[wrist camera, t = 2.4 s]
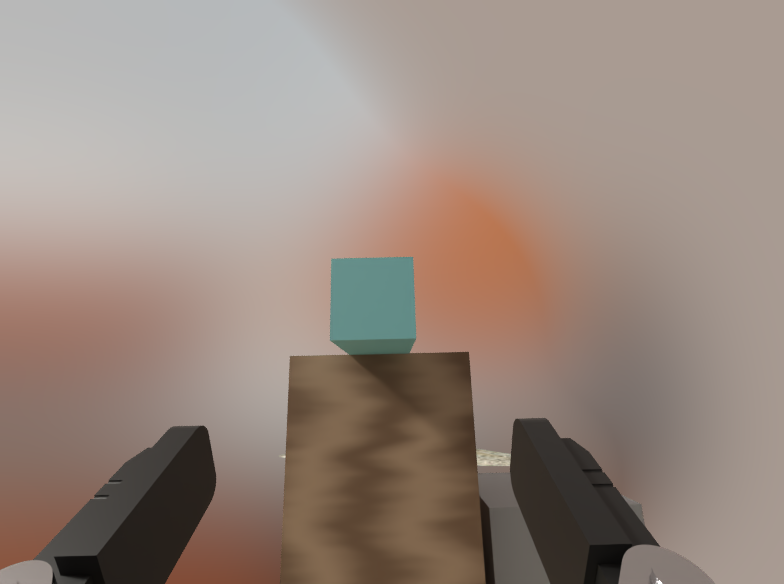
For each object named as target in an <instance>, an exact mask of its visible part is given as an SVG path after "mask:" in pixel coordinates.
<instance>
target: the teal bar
mask: <svg viewBox="0 0 784 584" xmlns="http://www.w3.org/2000/svg"><path fill="white" fill-rule="evenodd" d="M331 261H332V264H331V315H330V320H331V321H330V341H332V342H333V343H334V344H336V345H337V346H338V347H340V348H341V349H342V350H344V351H345V352H347V353H348V354H349V355H364V354H406V353H410V351H411V348H412V346H413V344H414V342H415V340H416V322H415V297H414V269H413V257H392V258H391V257H390V258H389V257H388V258H344V259H332V260H331Z"/></svg>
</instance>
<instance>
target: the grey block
mask: <svg viewBox="0 0 784 584" xmlns="http://www.w3.org/2000/svg"><path fill="white" fill-rule="evenodd" d="M478 485H479V499H480V513H481V526H482V540H483V554H484V568H485V581H486V584H550V582H549V579H548V577H547V574H546V572H545V569H544V567H543V564H542V562H541V559H540V557H539V555H538V552H537V550H536V547H535V545H534V542H533V540H532V537H531V535H530V532H529V530H528V527H527V525H526V523H525V520H524V518H523V515H522V513H521V510H520V508H519V505H518V503H517V500H516V498H515V495H514V492H513V489H512V484H511V477H510V473H479V474H478ZM622 497H623V498H624V499H625V501H626V502H627V503H628V505H629V506H630V507H631V508H632V510H633V511H634V512H635V514H636V515H637V516H638V518H639V519H640V520H641V522H642V523H643V524H644V518H643V512H642V506H641V504H640V503H638V502H636V501H633V500H631V499H629V498H627V497H625V496H623V495H622ZM644 526H645V524H644Z"/></svg>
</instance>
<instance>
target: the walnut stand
mask: <svg viewBox="0 0 784 584" xmlns="http://www.w3.org/2000/svg"><path fill="white" fill-rule="evenodd" d="M285 462H286V463H285V485H284V506H283V529H282V552H281V553H282V554H281V575H280V576H281V577H280V584H486V581H485V568H484V554H483V540H482V526H481V513H480V499H479V485H478V472H477V458H476V444H475V430H474V417H473V402H472V390H471V376H470V361H469V352H452V353H406V354H364V355H323V356H290V369H289V392H288V415H287V438H286V461H285Z"/></svg>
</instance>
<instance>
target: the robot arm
mask: <svg viewBox="0 0 784 584" xmlns="http://www.w3.org/2000/svg"><path fill="white" fill-rule="evenodd" d="M511 450H512V451H511V462H510V477H511V484H512V489H513V492H514V495H515V498H516V500H517V503H518V505H519V508H520V510H521V513H522V515H523V518H524V520H525V523H526V525H527V527H528V530H529V532H530V535H531V537H532V540H533V542H534V545H535V547H536V550H537V552H538V555H539V557H540V559H541V562H542V564H543V567H544V569H545V572H546V574H547V577H548V579H549V582H550V584H715V583H714V582H713V581H712V579H711V578H710V577H709V576H707V574H706V573H705V572H703V571H702V570H701V569H700V568H699V567H698V566H696V565H695V564H693V563H692V562H691V561H689V560H688V559H686V558H684V557H682V556H681V555H679V554H677V553H675V552H673V551H670V550H668V549H665V548H662V547H660V546H659V544H658V543H657V542H656V540H655V539H654V538H653V537H652V535H651V534H650V532H649V531H648V530H647V528H646V527H645V526H644V524H643V523H642V522H641V520H640V519H639V518H638V516H637V515H636V514H635V512H634V511H633V510H632V508H631V507H630V506H629V505H628V503H627V502H626V501H625V499H624V498H623V497H622V495H621V494H620V493H619V491H618V490H617V489H616V487H613V483H612V482H611V481H610V479H609V478H608V477H607V475H606V474H605V473H603V472H602V469H601V467H600V466H599V465H598V463H597V462H596V461H595V459H594V458H593V457H592V455H591V454H590V453H589V452H588V451H587V450H585V449H584V448H583V447H581V446H580V445H579V444H577V443H576V442H575V441H573V440H572V439H570V438H560V437H559V436H558V434H557V432H556V431H555V429H554V428H553V427H552V425H551V424H550V422H549V421H548V420H547V419H546V418H531V419H516V420H515V421H514V425H513V436H512V449H511ZM215 486H216V472H215V467H214V461H213V456H212V450H211V444H210V440H209V434H208V430H207V428H206V427H205V426H175V427H172V428H170V429H169V430H168V431H167V432H166V433H165V434H164V435H163V436H162V437H161V438H160V440H159V441H158V442H157V443H156V444H155V445H154V446H153V447H152V448H147V449H146V450H144V451H142V452H141V453H139V454H138V455H136V456H135V457H133V458H132V459H130V460H129V461H127V462H126V463H125V464H124V465H123V466H122V467H121V468H120V469H119V470H118V471H117V472H116V473H115V474H114V475H113V476H112V477H111V478H110V480H109V482H108V484H105V485H104V486H103V487H102V488H101V489H100V490H99V491H98V492H97V493H96V494H95V497H94V499H90V501H89V502H88V503H87V504H86V505H85V506H84V507H83V508H82V509H81V510H80V511H79V512H78V513H77V514H76V515H75V516H74V517H73V518H72V519H71V521H70V522H69V523H68V524H67V525H66V526H65V527H64V528H63V529H62V530H61V531H60V532H59V533H58V534H57V535H56V536H55V537H54V539H52V541H51V542H50V543H49V544H48V545H47V546H46V547H45V548H44V549H43V550H42V551H41V552H40V553H39V555H37V556H36V558H34V559H33V560H31V561H25V562H21V563H17V564H14V565H11V566H9V567H6V568H4V569H2V570H0V584H165V582H166V581H167V579H168V577H169V575H170V573H171V572H172V570H173V568H174V566H175V565H176V563H177V561H178V559H179V558H180V556H181V554H182V552H183V550H184V549H185V547H186V545H187V543H188V542H189V540H190V538H191V536H192V534H193V533H194V531H195V529H196V527H197V526H198V524H199V522H200V520H201V518H202V517H203V515H204V513H205V511H206V510H207V508H208V506H209V504H210V502H211V500H212V498H213V495H214V491H215Z"/></svg>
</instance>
